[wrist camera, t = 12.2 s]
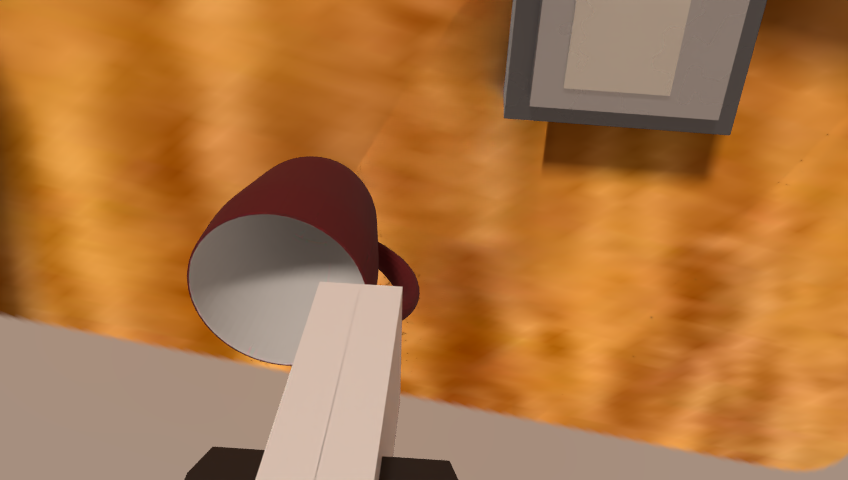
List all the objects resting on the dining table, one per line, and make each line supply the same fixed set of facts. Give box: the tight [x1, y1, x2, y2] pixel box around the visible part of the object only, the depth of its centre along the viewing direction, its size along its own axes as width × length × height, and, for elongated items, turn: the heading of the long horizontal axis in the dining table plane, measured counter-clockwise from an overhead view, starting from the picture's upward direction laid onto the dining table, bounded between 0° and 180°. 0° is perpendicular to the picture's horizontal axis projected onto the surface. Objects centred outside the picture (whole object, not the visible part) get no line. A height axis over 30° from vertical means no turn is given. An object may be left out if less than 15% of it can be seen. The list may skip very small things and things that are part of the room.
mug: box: [187, 157, 420, 366], centre depth 36 cm, size 11×8×10 cm
